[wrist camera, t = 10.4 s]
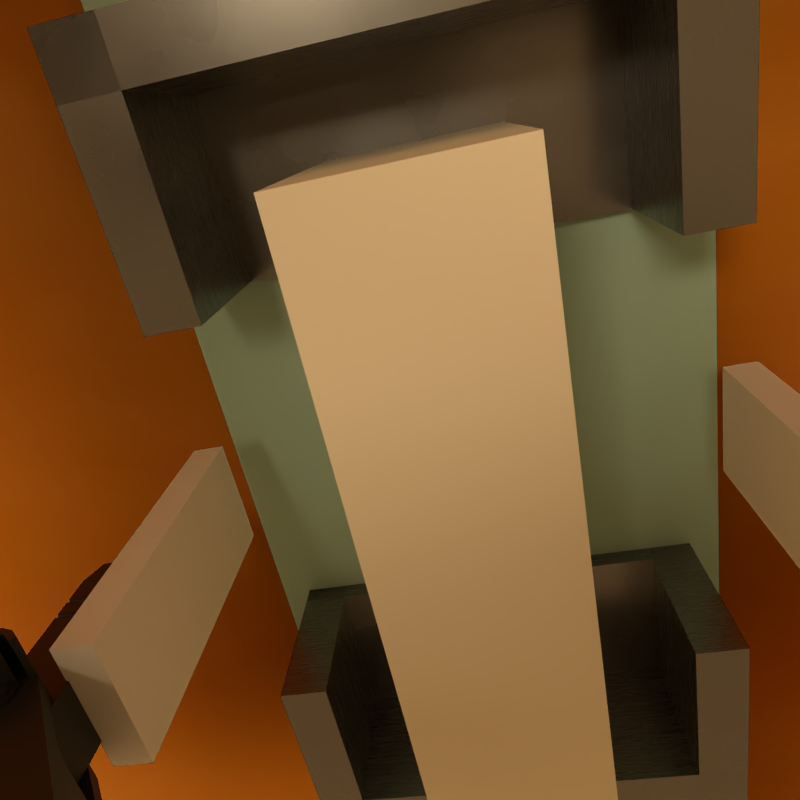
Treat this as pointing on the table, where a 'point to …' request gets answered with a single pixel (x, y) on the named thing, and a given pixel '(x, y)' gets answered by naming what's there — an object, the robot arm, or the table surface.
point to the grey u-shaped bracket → (388, 114)
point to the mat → (591, 384)
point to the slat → (456, 449)
